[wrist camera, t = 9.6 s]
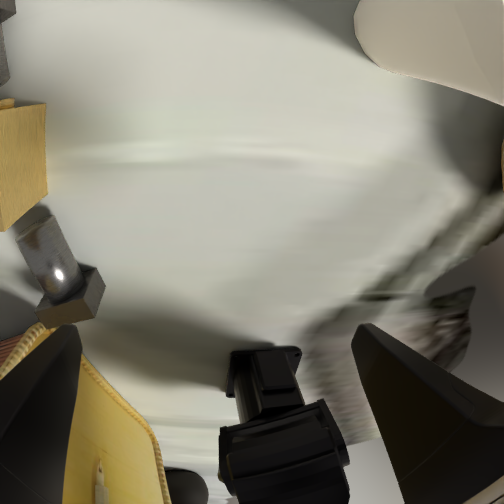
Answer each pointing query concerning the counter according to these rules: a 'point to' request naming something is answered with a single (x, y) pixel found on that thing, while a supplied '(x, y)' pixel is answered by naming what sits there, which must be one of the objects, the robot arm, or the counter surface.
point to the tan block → (21, 160)
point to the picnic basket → (100, 437)
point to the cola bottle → (186, 488)
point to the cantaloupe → (502, 164)
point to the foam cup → (437, 41)
